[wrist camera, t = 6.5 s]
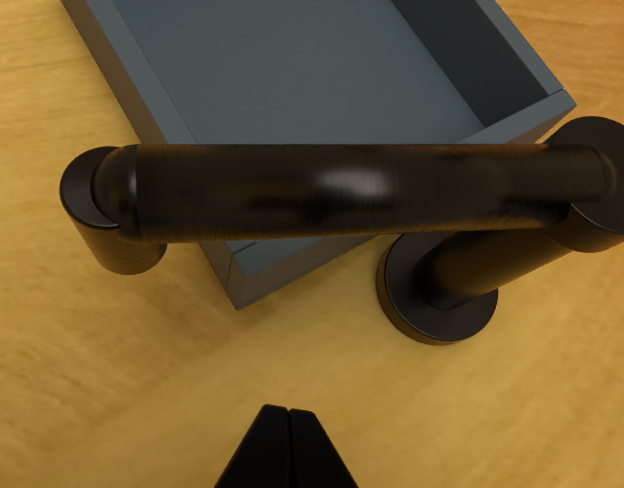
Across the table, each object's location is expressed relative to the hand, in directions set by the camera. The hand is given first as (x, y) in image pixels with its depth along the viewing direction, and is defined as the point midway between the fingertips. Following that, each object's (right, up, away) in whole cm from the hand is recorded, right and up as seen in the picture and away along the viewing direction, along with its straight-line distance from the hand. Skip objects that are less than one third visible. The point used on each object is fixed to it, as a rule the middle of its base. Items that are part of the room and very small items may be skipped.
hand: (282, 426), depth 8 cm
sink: (0, +10, +13) cm, 16 cm away
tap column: (+5, +1, +11) cm, 12 cm away
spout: (+2, +3, +4) cm, 5 cm away
